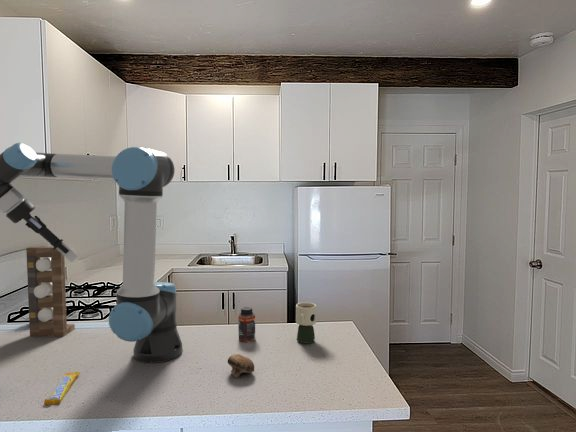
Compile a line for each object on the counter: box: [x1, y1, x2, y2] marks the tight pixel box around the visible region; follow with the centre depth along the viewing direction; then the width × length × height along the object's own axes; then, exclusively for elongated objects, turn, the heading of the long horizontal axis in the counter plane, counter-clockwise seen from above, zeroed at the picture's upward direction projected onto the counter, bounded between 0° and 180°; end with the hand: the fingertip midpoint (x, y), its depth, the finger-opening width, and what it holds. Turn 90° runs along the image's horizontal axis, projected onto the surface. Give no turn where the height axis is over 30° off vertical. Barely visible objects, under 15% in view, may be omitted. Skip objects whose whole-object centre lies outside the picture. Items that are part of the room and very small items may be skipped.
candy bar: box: [43, 371, 81, 406], centre depth 112 cm, size 17×4×2 cm, turn 11°
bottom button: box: [38, 308, 53, 322], centre depth 152 cm, size 6×4×4 cm
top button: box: [36, 257, 52, 272], centre depth 151 cm, size 6×4×4 cm
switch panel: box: [25, 246, 76, 338], centre depth 153 cm, size 9×12×32 cm
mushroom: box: [227, 353, 255, 379], centre depth 121 cm, size 8×8×6 cm
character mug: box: [295, 302, 317, 344], centre depth 147 cm, size 11×7×13 cm, turn 162°
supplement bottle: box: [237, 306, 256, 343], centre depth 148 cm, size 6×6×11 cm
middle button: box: [34, 283, 52, 298], centre depth 150 cm, size 6×4×4 cm
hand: (74, 258), depth 138 cm, fingers closed
